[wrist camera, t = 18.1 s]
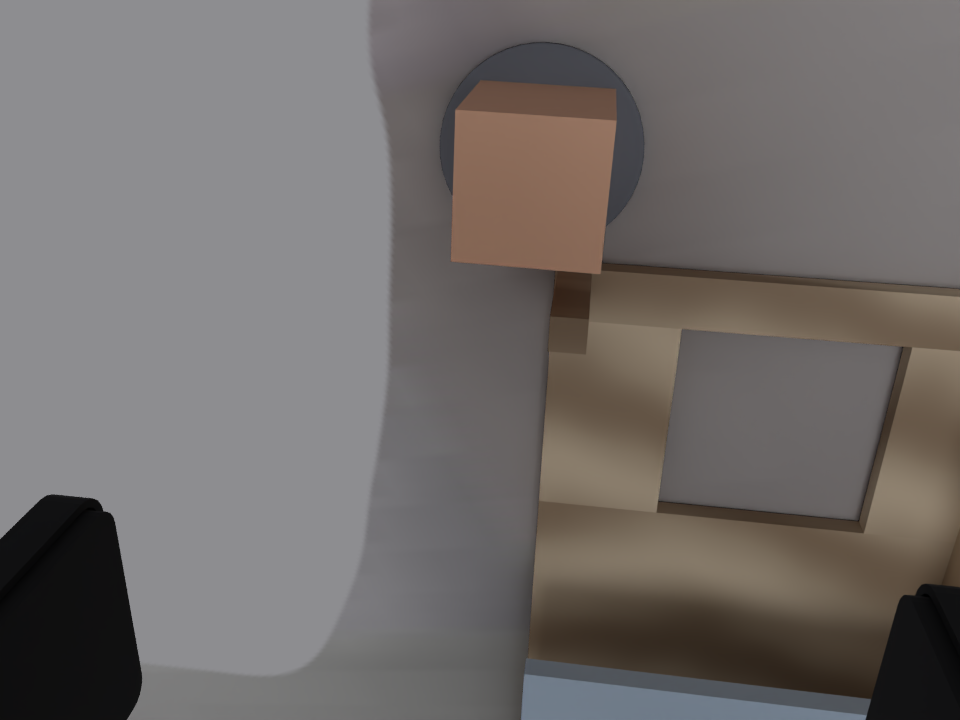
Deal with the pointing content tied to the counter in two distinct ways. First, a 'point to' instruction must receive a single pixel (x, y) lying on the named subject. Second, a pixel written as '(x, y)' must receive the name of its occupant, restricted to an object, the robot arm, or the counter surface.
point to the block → (532, 175)
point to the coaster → (568, 70)
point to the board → (731, 532)
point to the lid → (667, 697)
